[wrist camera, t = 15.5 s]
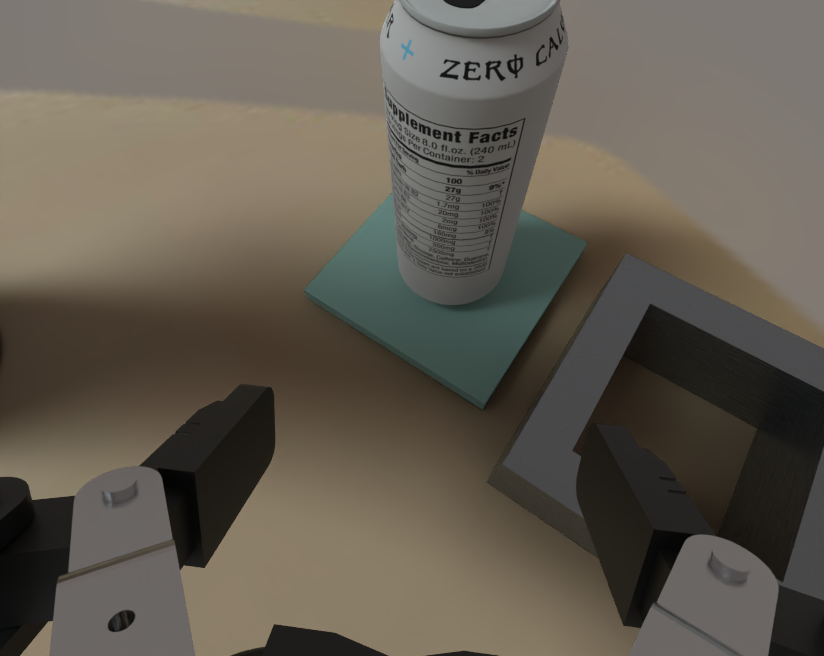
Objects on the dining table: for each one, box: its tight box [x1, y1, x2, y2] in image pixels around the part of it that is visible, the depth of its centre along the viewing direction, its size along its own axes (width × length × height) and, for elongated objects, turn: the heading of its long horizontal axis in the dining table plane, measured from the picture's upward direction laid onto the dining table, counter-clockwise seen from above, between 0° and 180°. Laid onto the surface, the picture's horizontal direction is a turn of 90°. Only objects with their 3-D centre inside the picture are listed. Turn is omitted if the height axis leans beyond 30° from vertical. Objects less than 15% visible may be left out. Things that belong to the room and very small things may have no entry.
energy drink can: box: [380, 0, 568, 305], centre depth 20 cm, size 6×6×15 cm
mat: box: [304, 193, 588, 410], centre depth 27 cm, size 12×12×1 cm
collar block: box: [487, 253, 824, 600], centre depth 21 cm, size 12×12×5 cm
